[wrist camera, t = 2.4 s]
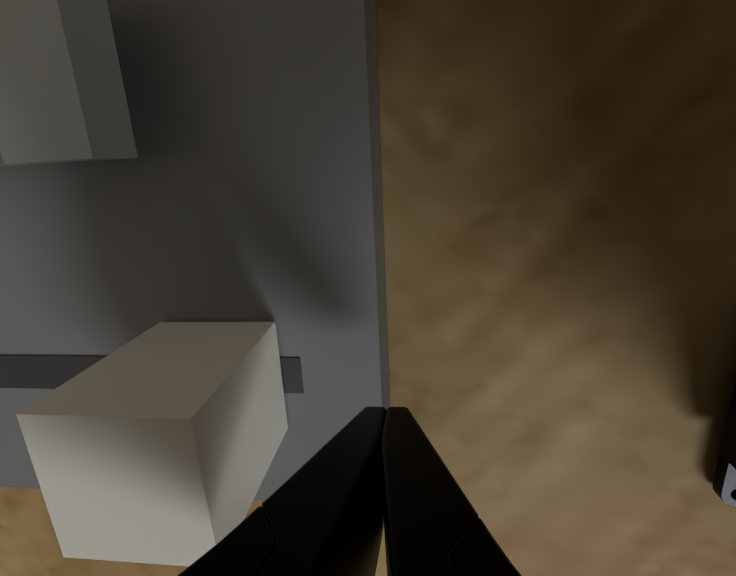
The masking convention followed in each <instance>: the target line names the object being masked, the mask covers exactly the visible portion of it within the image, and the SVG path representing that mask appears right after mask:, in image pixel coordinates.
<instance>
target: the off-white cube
mask: <svg viewBox="0 0 736 576" xmlns="http://www.w3.org/2000/svg"><path fill="white" fill-rule="evenodd" d="M16 416H17V419H18V422H19V425H20V428H21V431H22V434H23V437H24V440H25V443H26V446H27V449H28V452H29V455H30V458H31V461H32V464H33V467H34V470H35V473H36V476H37V479H38V482H39V485H40V488H41V491H42V494H43V497H44V500H45V503H46V506H47V509H48V512H49V515H50V518H51V521H52V524H53V527H54V530H55V533H56V536H57V539H58V542H59V544H60V547H61V550H62V553H63V556H64V557H68V558H82V559H95V560H109V561H123V562H136V563H150V564H164V565H177V566H190V565H191V564H193V563H194V562H195V561H196V560H198V559H199V558H200V557H201V556H203V555H204V554H205V553H206V552H208V551H209V550H210V549H211V548H212V547H214V546H215V545H216V544H217V543H219V542H220V541H221V540H222V539H223V538H224V537H225V536H227V535H228V534H229V533H230V532H231V531H232V530H233V529H234V528H236V527H237V526H238V525H239V524H240V523H241V522H242V521H243V520H244V518H245V516H246V514H247V512H248V510H249V508H250V506H251V504H252V502H253V500H254V497H255V495H256V493H257V491H258V489H259V487H260V485H261V483H262V481H263V479H264V477H265V475H266V473H267V470H268V468H269V466H270V464H271V462H272V460H273V458H274V456H275V454H276V452H277V450H278V448H279V446H280V443H281V441H282V439H283V437H284V435H285V433H286V431H287V429H288V424H287V416H286V407H285V399H284V391H283V382H282V374H281V366H280V357H279V349H278V341H277V332H276V324H275V322H159V323H158V324H156V325H155V326H153V327H151V328H150V329H148V330H147V331H145V332H144V333H142V334H140V335H139V336H137V337H136V338H134V339H133V340H131V341H130V342H128V343H126V344H125V345H123V346H122V347H120V348H119V349H117V350H115V351H114V352H112V353H111V354H109V355H108V356H106V357H104V358H103V359H101V360H100V361H98V362H97V363H95V364H94V365H92V366H90V367H89V368H87V369H86V370H84V371H83V372H81V373H79V374H78V375H76V376H75V377H73V378H72V379H70V380H68V381H67V382H65V383H64V384H62V385H61V386H59V387H57V388H56V389H54V390H53V391H51V392H50V393H48V394H47V395H45V396H43V397H42V398H40V399H39V400H37V401H36V402H34V403H32V404H31V405H29V406H28V407H26V408H25V409H23V410H21V411H20V412H18V413H17V414H16Z"/></svg>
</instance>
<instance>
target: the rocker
mask: <svg viewBox="0 0 736 576" xmlns="http://www.w3.org/2000/svg"><path fill="white" fill-rule="evenodd" d="M127 158H138V156H137V151H136V146H135V141H134V136H133V131H132V126H131V121H130V116H129V111H128V105H127V100H126V95H125V90H124V85H123V80H122V75H121V70H120V65H119V60H118V55H117V50H116V45H115V40H114V35H113V30H112V25H111V19H110V14H109V9H108V4H107V0H0V166H13V165H29V164H48V163H62V162H78V161H94V160H111V159H127Z"/></svg>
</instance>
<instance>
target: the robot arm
mask: <svg viewBox="0 0 736 576" xmlns="http://www.w3.org/2000/svg"><path fill="white" fill-rule="evenodd" d="M735 488H736V381H735V385H734V390H733V394H732V398H731V403H730V407H729V411H728V416H727V420H726V424H725V429H724V433H723V437H722V442H721V446H720V454H719V458H718V462H717V467H716V471H715V475H714V480H713V489H714V491H715V493H716V494H717V495H718V496H719V497H720V498H721V499H722V501H723V502H724V503H725V504H727V505H729V506H731V507H736V489H735ZM734 489H735V490H734ZM383 525H384V530H385V548H386V563H387V576H521V575H520V573H519V572H518V571H517V570H516V568H515V567H514V566H513V565H512V563H511V562H510V561H509V559H508V558H507V556H506V555H505V553H504V552H503V551H502V549H501V548H500V546H499V545H498V544H497V542H496V541H495V539H494V538H493V537H492V535H491V533H490V532H489V530H488V529H487V527H486V526H485V524H484V523H483V521H482V520H481V519H480V518H479V516H478V514H477V513H476V511H475V509H474V508H473V506H472V505H471V503H470V502H469V500H468V499H467V497H466V496H465V494H464V493H463V491H462V490H461V488H460V487H459V485H458V484H457V482H456V481H455V479H454V478H453V476H452V475H451V473H450V472H449V470H448V468H447V467H446V465H445V464H444V462H443V461H442V459H441V458H440V456H439V455H438V453H437V452H436V450H435V449H434V447H433V446H432V444H431V443H430V441H429V440H428V438H427V437H426V435H425V434H424V432H423V431H422V429H421V427H420V426H419V424H418V423H417V421H416V420H415V418H414V417H413V415H412V414H411V412H410V411H409V409H408V408H406V407H388V408H387V410H386V408H385V407H376V406H367V407H365V408H364V409H363V410H362V411H361V412H359V413H358V414H357V415H356V416H355V417H354V418H353V419H352V420H351V421H350V422H349V423H348V424H347V425H346V426H344V427H343V428H342V429H341V430H340V431H339V432H338V433H337V434H336V435H335V436H334V437H333V438H332V439H331V440H329V441H328V442H327V443H326V444H325V445H324V446H323V447H322V448H321V449H320V450H319V451H318V452H317V453H316V454H314V455H313V456H312V457H311V458H310V459H309V460H308V461H307V462H306V463H305V464H304V465H303V466H302V467H301V468H299V469H298V470H297V471H296V472H295V473H294V474H293V475H292V476H291V477H290V478H289V479H288V480H287V481H286V482H284V483H283V484H282V485H281V486H280V487H279V488H278V489H277V490H276V491H275V492H274V493H273V494H272V495H271V496H269V497H268V498H267V499H266V500H265V501H264V502H263V503H262V507H261V506H259V507H257V508H256V509H255V510H254V511H253V512H252V513H251V514H250V515H249V516H248V517H247V518H246V519H245V520H243V521H242V522H241V523H240V524H239V525H238V526H237V527H236V528H234V529H233V530H232V531H231V532H230V533H229V534H228V535H227V536H225V537H224V538H223V539H222V540H221V541H220V542H219V543H217V544H216V545H215V546H214V547H212V548H211V549H210V550H209V551H208V552H206V553H205V554H204V555H203V556H201V557H200V558H199V559H198V560H196V561H195V562H194V563H193V564H191V565H190V566H189V567H188V568H186V569H185V570H184V571H183V572H181V573H180V574H179V575H177V576H375V572H376V567H377V561H378V556H379V550H380V545H381V539H382V532H383Z"/></svg>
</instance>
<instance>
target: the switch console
mask: <svg viewBox="0 0 736 576" xmlns="http://www.w3.org/2000/svg"><path fill="white" fill-rule="evenodd" d="M107 4H108V9H109V14H110V19H111V25H112V30H113V35H114V40H115V45H116V50H117V55H118V60H119V65H120V70H121V75H122V80H123V85H124V90H125V95H126V100H127V105H128V111H129V116H130V121H131V126H132V131H133V136H134V141H135V146H136V151H137V156H138V158H127V159H111V160H94V161H78V162H62V163H48V164H29V165H13V166H0V486H1V487H20V488H40V485H39V482H38V479H37V476H36V473H35V470H34V467H33V464H32V461H31V458H30V455H29V452H28V449H27V446H26V443H25V440H24V437H23V434H22V431H21V428H20V425H19V422H18V419H17V416H16V414H17V413H18V412H20V411H21V410H23V409H25V408H26V407H28V406H29V405H31V404H32V403H34V402H36V401H37V400H39V399H40V398H42V397H43V396H45V395H47V394H48V393H50V392H51V391H53V390H54V389H56V388H57V387H59V386H61V385H62V384H64V383H65V382H67V381H68V380H70V379H72V378H73V377H75V376H76V375H78V374H79V373H81V372H83V371H84V370H86V369H87V368H89V367H90V366H92V365H94V364H95V363H97V362H98V361H100V360H101V359H103V358H104V357H106V356H108V355H109V354H111V353H112V352H114V351H115V350H117V349H119V348H120V347H122V346H123V345H125V344H126V343H128V342H130V341H131V340H133V339H134V338H136V337H137V336H139V335H140V334H142V333H144V332H145V331H147V330H148V329H150V328H151V327H153V326H155V325H156V324H158V323H159V322H275V324H276V332H277V341H278V349H279V357H280V366H281V374H282V382H283V391H284V399H285V407H286V416H287V424H288V429H287V431H286V433H285V435H284V437H283V439H282V441H281V443H280V446H279V448H278V450H277V452H276V454H275V456H274V458H273V460H272V462H271V464H270V466H269V468H268V470H267V473H266V475H265V477H264V479H263V481H262V483H261V485H260V487H259V489H258V491H257V493H256V495H255V497H254V500H266V499H267V498H268V497H269V496H271V495H272V494H273V493H274V492H275V491H276V490H277V489H278V488H279V487H280V486H281V485H282V484H283V483H284V482H286V481H287V480H288V479H289V478H290V477H291V476H292V475H293V474H294V473H295V472H296V471H297V470H298V469H299V468H301V467H302V466H303V465H304V464H305V463H306V462H307V461H308V460H309V459H310V458H311V457H312V456H313V455H314V454H316V453H317V452H318V451H319V450H320V449H321V448H322V447H323V446H324V445H325V444H326V443H327V442H328V441H329V440H331V439H332V438H333V437H334V436H335V435H336V434H337V433H338V432H339V431H340V430H341V429H342V428H343V427H344V426H346V425H347V424H348V423H349V422H350V421H351V420H352V419H353V418H354V417H355V416H356V415H357V414H358V413H359V412H361V411H362V410H363V409H364V408H365V407H367V406H376V407H385V408H386V410H387V408H388V407H390V385H389V358H388V331H387V305H386V278H385V251H384V224H383V197H382V170H381V143H380V117H379V90H378V63H377V36H376V9H375V0H107ZM40 489H41V488H40Z"/></svg>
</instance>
